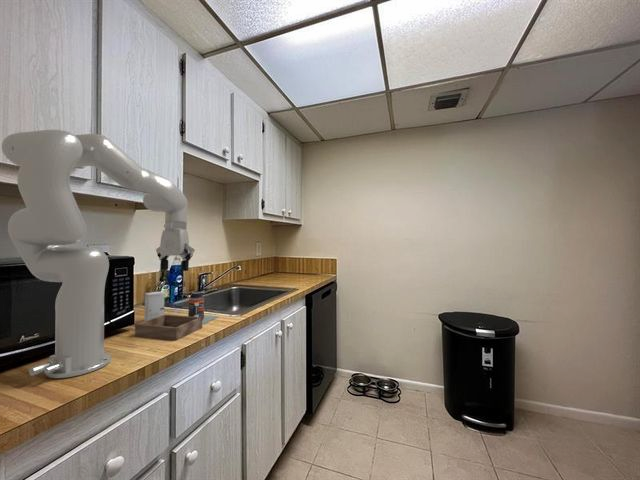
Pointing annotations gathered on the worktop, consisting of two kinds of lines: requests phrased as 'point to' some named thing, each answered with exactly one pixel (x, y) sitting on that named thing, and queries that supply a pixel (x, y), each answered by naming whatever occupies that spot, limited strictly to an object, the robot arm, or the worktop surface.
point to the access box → (162, 331)
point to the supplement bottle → (196, 305)
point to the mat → (208, 319)
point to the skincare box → (154, 305)
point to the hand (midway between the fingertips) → (174, 270)
